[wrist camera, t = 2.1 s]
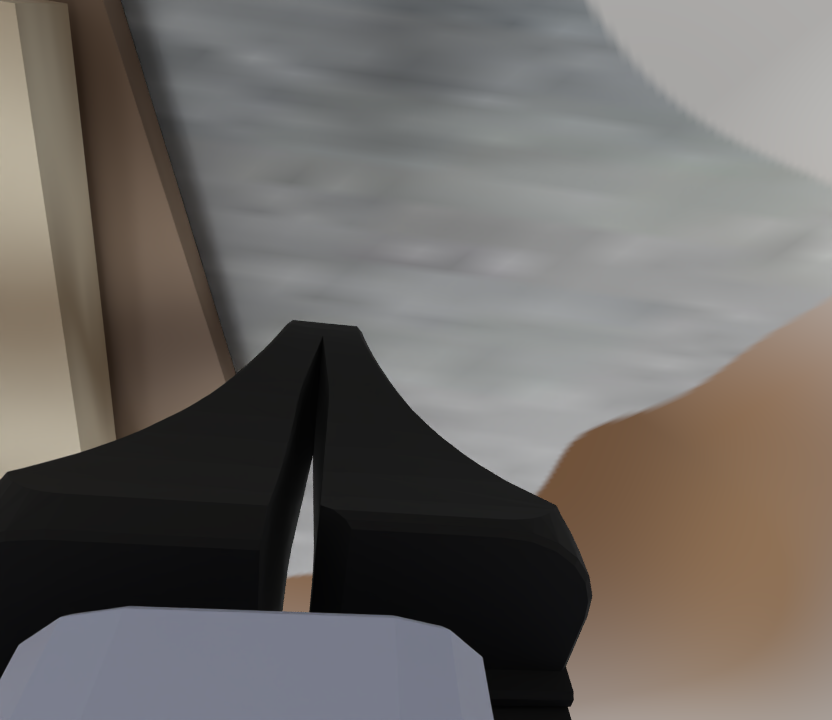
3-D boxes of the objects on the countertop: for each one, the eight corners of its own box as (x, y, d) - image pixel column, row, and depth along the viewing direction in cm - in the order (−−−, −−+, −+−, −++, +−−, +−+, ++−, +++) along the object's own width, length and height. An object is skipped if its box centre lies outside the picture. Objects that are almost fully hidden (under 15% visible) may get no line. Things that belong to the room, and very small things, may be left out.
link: (146, 553, 18) (123, 610, 17) (16, 547, 18) (-21, 606, 16) (95, 8, 11) (48, 9, 10) (-118, -26, 11) (-208, -32, 9)
